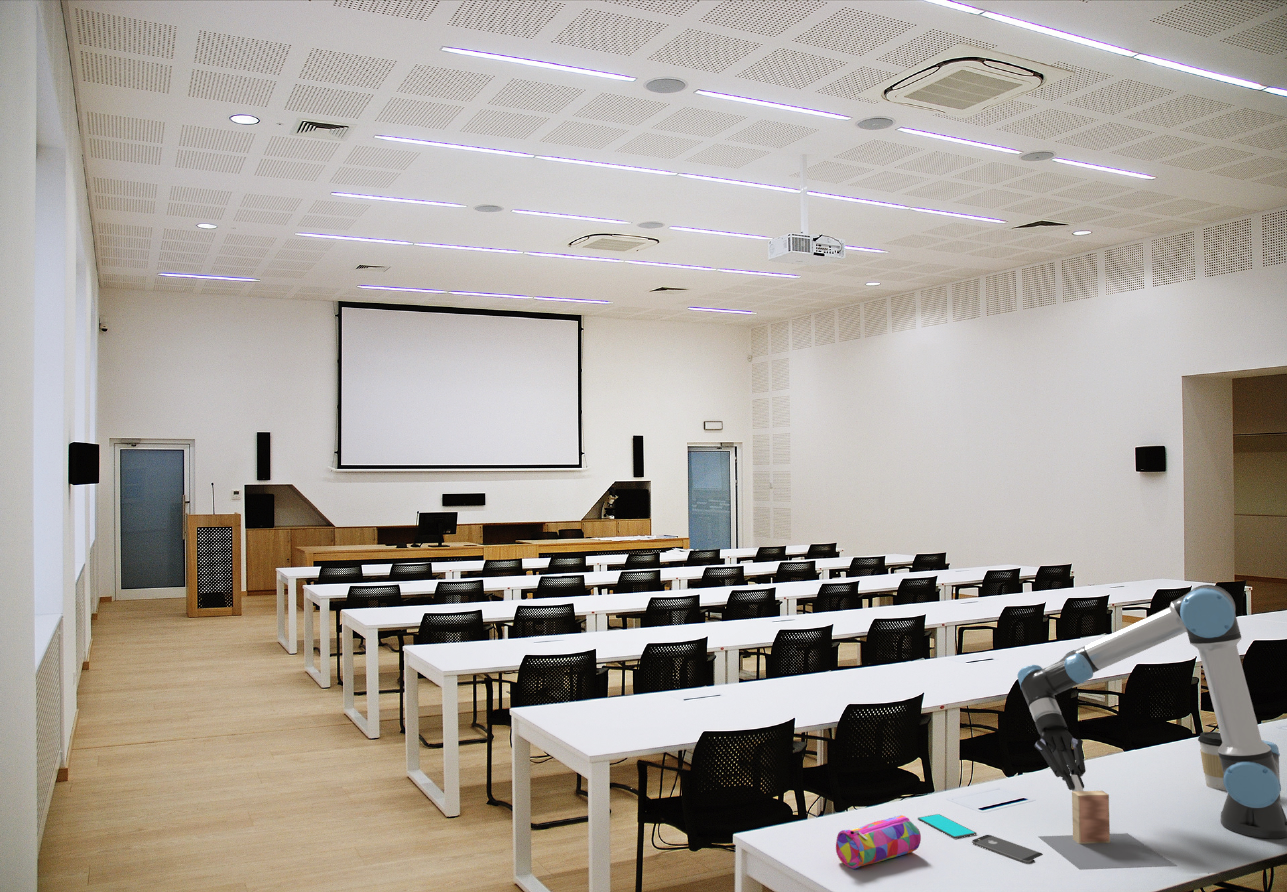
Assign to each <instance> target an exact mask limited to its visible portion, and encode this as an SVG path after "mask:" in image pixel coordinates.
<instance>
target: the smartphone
mask: <svg viewBox="0 0 1287 892" xmlns="http://www.w3.org/2000/svg"><path fill="white" fill-rule="evenodd" d="M917 820H918V821H919V822H921V823H923V822H924V824H925V825H927V824H928V826H929V827H932V828H933V829H935V830H937V831H938V832H940V833H942V832H943V834H944V833H945V834H944V835H946V834H947V835H946V836H948V837H950V836H951V837H950V838H952V839H954V838H958V839H961V838H962V837H963V838H965V837H967V836H968V837H971V836H970V835H974V834H978V833H977V832H976V831H974V830H972V829H970V828H968V827H965V826H963V825H962V824H960V823H958V822H956V821H954V820H952V819H950V818H948V817H945V816H944V815H942V814H940V813H936V814H929V815H924V816H920V817H917ZM964 836H965V837H964ZM974 836H975V835H974ZM963 838H962V839H963Z"/></svg>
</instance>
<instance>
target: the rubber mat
mask: <svg viewBox="0 0 1287 892" xmlns="http://www.w3.org/2000/svg"><path fill="white" fill-rule="evenodd" d="M1037 837H1038V838H1039V839H1041V841H1042V842H1044V843H1045V844H1046V845H1048V846H1049V847H1050V848H1052V849H1053V850H1054V851H1055V852H1057V853H1058V854H1059V855H1061V857H1063V858H1064V859H1066V860H1067V861H1068V862H1069V863H1070V864H1072V865H1073V866H1074V867H1076V868H1077V869H1079V870H1101V869H1103V870H1104V869H1105V870H1106V869H1124V868H1125V869H1131V868H1132V869H1133V868H1152V867H1153V868H1154V867H1155V868H1157V867H1158V868H1159V867H1160V868H1161V867H1178V864H1175V863H1174V862H1173V861H1171V860H1169V859H1168V858H1166V857H1165V856H1163V855H1161V854H1160V853H1159V852H1157V851H1156V850H1154V849H1152V848H1151V847H1149V846H1148V845H1146V844H1145V843H1143V842H1142V841H1140V840H1139V839H1137V838H1136V837H1134V836H1133V835H1131V834H1129V833H1126V832H1125V833H1110V843H1088V844H1079V843H1078V842H1076V841H1075V840H1073V834H1071V835H1070V834H1069V835H1067V834H1066V835H1065V834H1063V835H1043V836H1042V835H1040V836H1037Z"/></svg>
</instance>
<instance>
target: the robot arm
mask: <svg viewBox="0 0 1287 892" xmlns="http://www.w3.org/2000/svg"><path fill="white" fill-rule="evenodd" d="M1185 633H1187V636H1188V640H1189V641H1188V642H1189V644H1190V645H1191V646H1193V647H1195V648H1196V649H1197V650H1198V652H1199V655H1200V656H1199V658H1200V661H1201V664H1202V668H1203V672H1204V675H1205V679H1206V683H1207V688H1208V691H1209V695H1210V699H1211V703H1212V708H1213V710H1214V711H1213V712H1214V715H1215V719H1216V722H1217V727H1218V731H1219V733H1220V735H1221V739H1222V744H1221V746H1220V747H1219V748H1218V754H1219V758H1220V762H1221V766H1222V770H1223V774H1224V776H1223V783H1224V786H1225V788H1226V790H1225V791H1226V792H1227V795H1226V798H1225V801H1224V804H1223V808H1222V811H1221V813H1220V824H1221V826H1223V827H1224V828H1226V829H1228V830H1230V831H1232V832H1235V833H1238V834H1240V835H1243V836H1249V837H1254V838H1259V839H1271V840H1273V839H1275V840H1276V839H1284V838H1287V816H1286V814H1285V811H1284V809H1283V806H1282V804H1281V791H1282V785H1281V780H1280V779H1281V778H1280V777H1281V776H1280V756H1281V755H1280V753H1279V752H1280V751H1279V746H1278V745H1277V744H1276V743H1274V742H1272V741H1268V740H1262V737H1261V733H1260V730H1259V725H1258V721H1257V717H1256V714H1255V711H1254V705H1253V702H1252V699H1251V695H1250V690H1249V687H1248V684H1247V680H1246V676H1245V672H1244V669H1243V665H1242V661H1241V657H1240V653H1239V650H1238V643H1240V642H1241V640H1242V635H1241V630H1240V627H1239V623H1238V619H1237V615H1236V603H1235V601H1234V599H1233V597H1232V595H1231V594H1230V593H1229V592H1228V591H1226V589H1224V588H1222V587H1220V586H1217V585H1213V584H1202V585H1198V586H1196V587H1194V588H1193V589H1191V590H1190V591H1189V592H1187V593H1185V594H1183V596H1181V597H1179V598H1177V599H1174V600H1173V601H1171V602H1170V605H1169V607H1166V608H1165V609H1162V610H1160V611H1157V612H1156V613H1153V614H1152V615H1149V616H1147V617H1145V618H1142V619H1141V620H1137V621H1136V622H1134V623H1132V624H1130V625H1127V626H1126V627H1122V628H1121V629H1119V630H1116V631H1114V632H1111V633H1110V634H1108V635H1105V636H1104V637H1101V638H1099V639H1097V640H1094V641H1092V642H1091V643H1088V644H1086V645H1084V646H1082V647H1079V648H1078V649H1075V650H1074V649H1073V650H1070V651H1069V652H1067V653H1065V655H1064V656H1062V658H1061V659H1060V660H1059V661H1057V662H1055V663H1053V664H1050V665H1049V666H1047V667H1044V668H1043V667H1042V666H1040V665H1038V664H1031V665H1026V666H1024V667H1022V668H1021V669H1019V671H1018V672H1017V679H1018V680H1017V681H1018V683H1019V686H1020V690H1021V692H1022V694H1023V697H1024V699H1025V701H1026V704H1027V706H1028V708H1029V712H1030V713H1031V714H1030V715H1031V716H1032V719H1033V721H1034V723H1035V727H1036V729H1037V732H1038V734H1039V735H1040V738H1039V740H1038V739H1037V741H1036V742H1035V744H1034V748H1035V749H1036V750H1037V751H1038V752H1039V753H1040V754H1041V756H1042V758H1044V761H1046V763H1047V765H1048V766H1049V768H1050V769H1051V772H1052V773H1053V774H1054V776H1055V777H1056V778H1061V780H1062V781H1064V782H1065V784H1066V787H1067V789H1069V791H1071V793H1072V792H1074V791H1084V789H1085V783H1084V781H1083V779H1082V777H1083V776H1084V774H1085V773H1086V771H1087V770H1086V769H1087V768H1086V765H1085V759H1084V754H1083V747H1082V746H1083V745H1084V744H1083V743H1084V741H1083V739H1082V738H1079V739H1076V738H1074V737H1073V735H1072V734H1071V733H1070V732H1069V729H1068V725H1067V723H1066V720H1065V719H1064V717H1063V715H1062V711H1061V709H1060V706H1059V704H1058V702H1057V699H1056V697H1055V695H1056V696H1057V695H1058V694H1060V693H1062V692H1065V691H1067V690H1069V689H1072V688H1073V687H1076V686H1077V685H1080V684H1084V683H1085V682H1086V681H1088V680H1090V679H1092V678H1093V676H1094V673H1096V672H1099V671H1101V670H1102V669H1104V668H1105V669H1106V668H1107V667H1109V666H1111V665H1114V664H1116V663H1118V662H1121V661H1124V660H1126V659H1128V658H1131V657H1132V656H1135V655H1137V654H1139V653H1141V652H1143V651H1146V650H1148V649H1151V648H1153V647H1155V646H1157V645H1160V644H1163V643H1165V642H1167V641H1169V640H1171V639H1174V638H1176V637H1178V636H1180V635H1183V634H1185ZM1071 745H1072V747H1071ZM1072 749H1073V752H1072ZM1073 754H1074V755H1073Z"/></svg>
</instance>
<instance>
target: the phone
mask: <svg viewBox="0 0 1287 892" xmlns="http://www.w3.org/2000/svg"><path fill="white" fill-rule="evenodd" d="M971 843H973V844H972V845H974V844H975V845H974V846H976V845H978V846H977V847H979V846H981V847H980V848H982V847H983V848H982V849H984V848H986V849H985V850H987V849H988V851H990V850H991V852H993V853H995V852H996V854H998V855H1002V856H1004V857H1007V858H1009V859H1012V860H1015V861H1017V862H1020V863H1022V864H1027V865H1028V864H1032V863H1035V862H1036V860H1035V859H1037V858H1039V857H1041V856H1043V854H1044V853H1042V852H1039V851H1036V850H1033V849H1031V848H1028V847H1026V846H1023V845H1019V844H1018V843H1017V844H1016V843H1015V842H1012V841H1008V840H1006V839H1002V838H1000V837H997V836H994V835H991V834H985V835H983V836H979V837H977V838H975V839H972V841H971Z"/></svg>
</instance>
